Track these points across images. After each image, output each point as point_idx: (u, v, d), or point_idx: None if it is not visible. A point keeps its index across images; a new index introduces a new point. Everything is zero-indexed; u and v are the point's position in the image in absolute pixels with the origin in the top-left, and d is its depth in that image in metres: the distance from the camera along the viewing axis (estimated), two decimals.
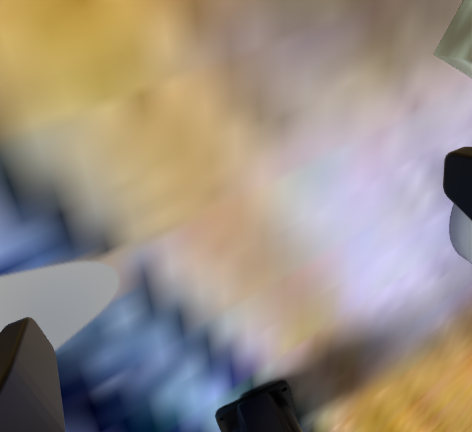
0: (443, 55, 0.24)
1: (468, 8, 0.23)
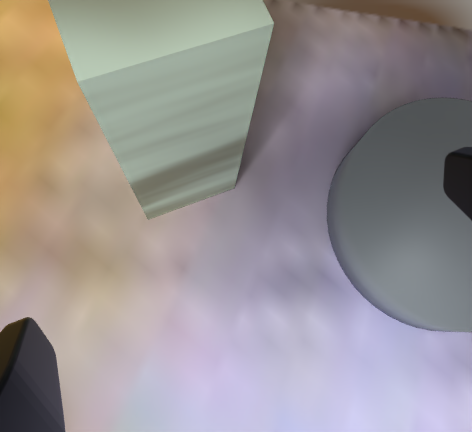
0: (146, 215, 0.21)
1: None
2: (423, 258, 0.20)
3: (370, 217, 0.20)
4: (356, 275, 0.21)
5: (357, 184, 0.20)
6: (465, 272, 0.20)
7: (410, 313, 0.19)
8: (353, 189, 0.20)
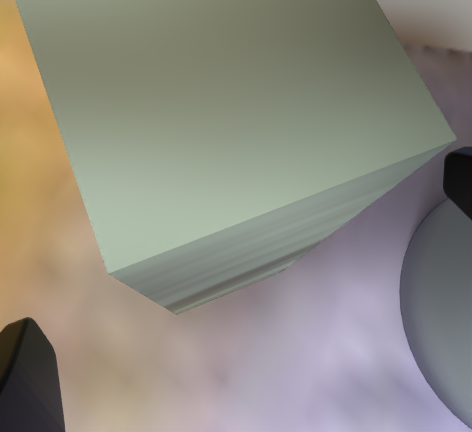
0: (175, 313, 0.17)
1: None
2: None
3: (471, 323, 0.15)
4: (447, 392, 0.16)
5: (451, 277, 0.16)
6: None
7: None
8: (447, 284, 0.15)
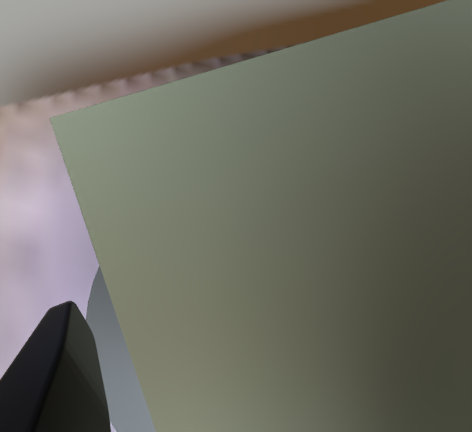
0: None
1: None
2: None
3: (133, 392, 0.15)
4: None
5: (103, 354, 0.15)
6: None
7: None
8: (100, 363, 0.15)
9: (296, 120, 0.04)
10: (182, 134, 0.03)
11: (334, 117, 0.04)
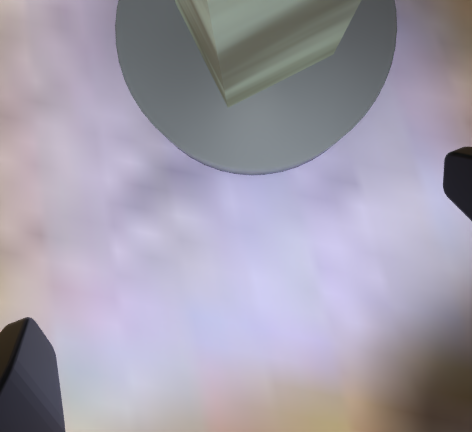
0: (227, 102, 0.17)
1: (197, 44, 0.17)
2: (234, 107, 0.18)
3: (163, 95, 0.18)
4: (192, 156, 0.20)
5: (134, 67, 0.18)
6: (283, 98, 0.18)
7: (248, 169, 0.18)
8: (133, 74, 0.18)
9: None
10: None
11: None
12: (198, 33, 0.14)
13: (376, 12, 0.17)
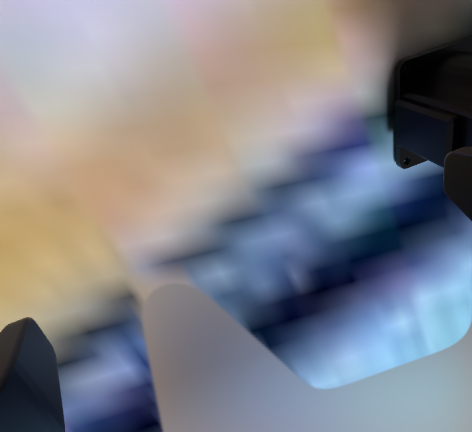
0: None
1: None
2: None
3: None
4: None
5: None
6: None
7: None
8: None
9: None
10: None
11: None
12: None
13: None
